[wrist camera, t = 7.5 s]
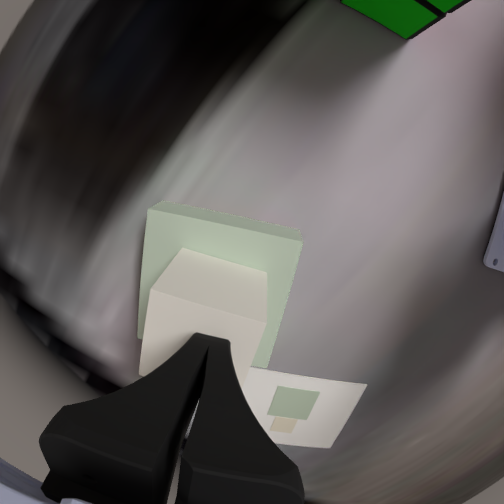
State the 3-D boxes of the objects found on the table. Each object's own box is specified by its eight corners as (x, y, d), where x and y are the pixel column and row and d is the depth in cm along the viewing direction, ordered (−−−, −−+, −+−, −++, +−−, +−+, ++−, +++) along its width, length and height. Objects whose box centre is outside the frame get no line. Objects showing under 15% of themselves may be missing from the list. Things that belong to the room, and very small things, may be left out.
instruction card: (366, 384, 22) (367, 385, 22) (329, 447, 24) (329, 448, 24) (234, 363, 22) (234, 364, 21) (217, 432, 24) (216, 433, 24)
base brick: (298, 227, 19) (303, 242, 16) (267, 341, 21) (266, 368, 19) (165, 199, 19) (148, 208, 16) (152, 314, 21) (137, 338, 18)
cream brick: (267, 272, 17) (266, 322, 12) (243, 342, 18) (235, 403, 13) (182, 247, 16) (150, 288, 12) (167, 319, 18) (138, 374, 13)
